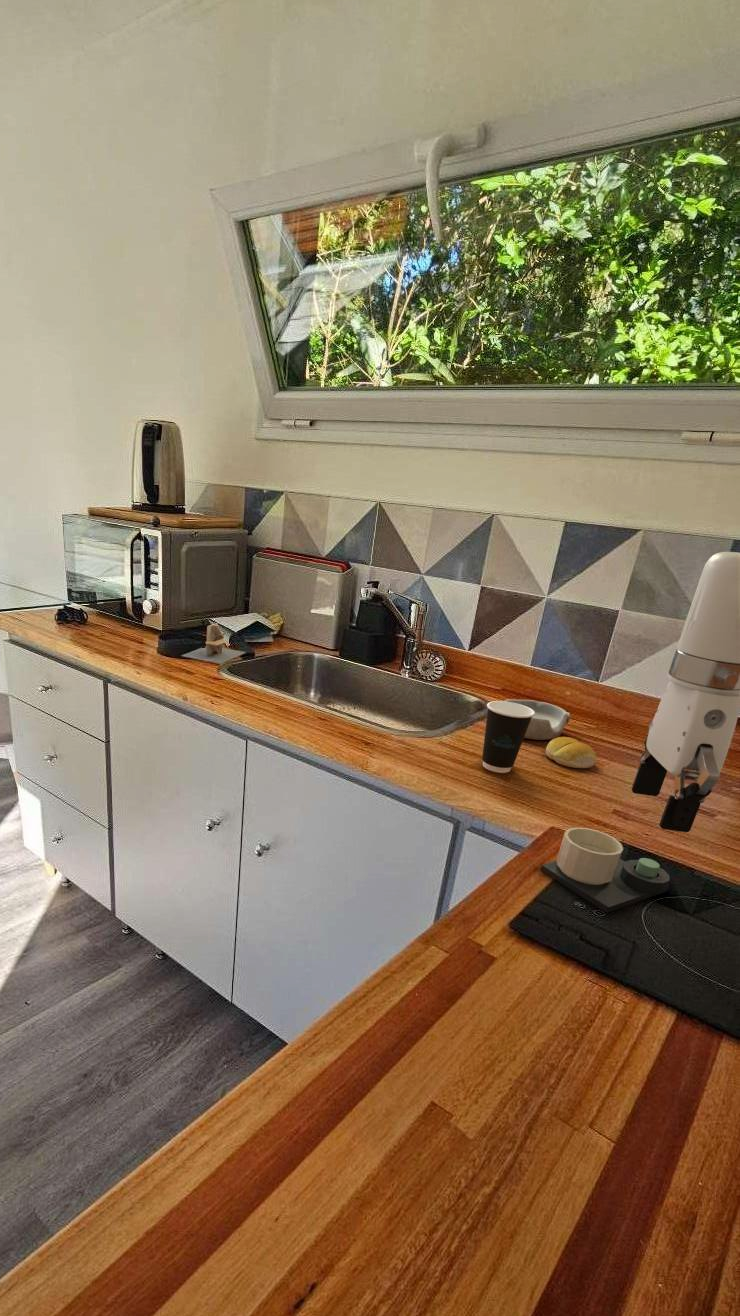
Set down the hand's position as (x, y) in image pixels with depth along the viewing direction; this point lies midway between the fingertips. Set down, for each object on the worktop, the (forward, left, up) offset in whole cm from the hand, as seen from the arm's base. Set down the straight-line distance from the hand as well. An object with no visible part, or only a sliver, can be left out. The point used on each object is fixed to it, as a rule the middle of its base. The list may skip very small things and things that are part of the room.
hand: (658, 810), depth 80 cm
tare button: (-1, +1, -9) cm, 9 cm away
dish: (-34, -48, -11) cm, 60 cm away
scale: (+3, -2, -11) cm, 11 cm away
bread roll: (-29, -33, -11) cm, 46 cm away
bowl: (+5, -4, -10) cm, 12 cm away
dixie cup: (-12, -35, -11) cm, 39 cm away
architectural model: (+6, -117, -11) cm, 117 cm away
